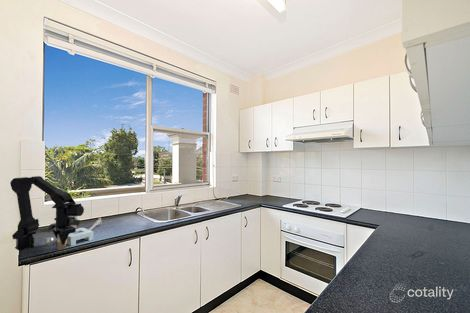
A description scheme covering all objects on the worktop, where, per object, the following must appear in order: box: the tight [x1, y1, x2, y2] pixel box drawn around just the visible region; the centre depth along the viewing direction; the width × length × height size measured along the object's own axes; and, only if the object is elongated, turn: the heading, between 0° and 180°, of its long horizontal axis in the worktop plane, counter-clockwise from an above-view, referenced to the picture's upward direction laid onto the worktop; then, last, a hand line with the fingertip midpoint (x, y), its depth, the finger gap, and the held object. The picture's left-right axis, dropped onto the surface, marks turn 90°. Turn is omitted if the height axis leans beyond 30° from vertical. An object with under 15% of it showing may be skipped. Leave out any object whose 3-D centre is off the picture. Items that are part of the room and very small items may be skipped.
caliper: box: [87, 217, 102, 231], centre depth 154 cm, size 20×1×6 cm, turn 8°
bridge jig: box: [66, 227, 95, 247], centre depth 133 cm, size 12×14×5 cm
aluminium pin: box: [44, 236, 55, 247], centre depth 126 cm, size 4×4×4 cm
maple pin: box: [56, 236, 67, 250], centre depth 122 cm, size 4×4×8 cm
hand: (61, 243), depth 122 cm, fingers closed on maple pin, 4 cm apart
